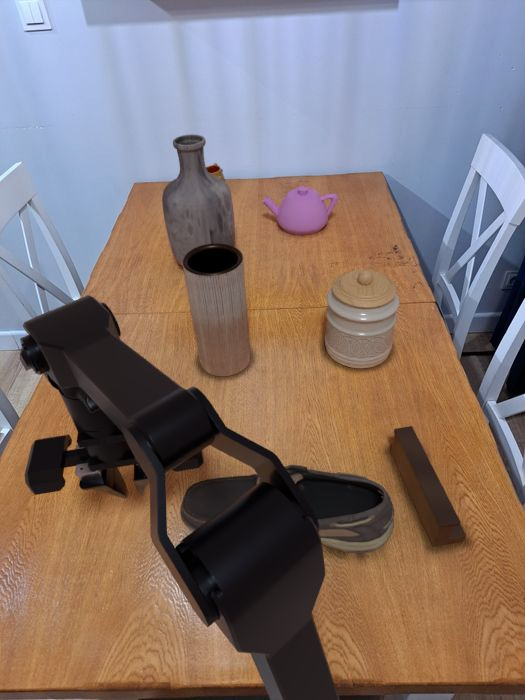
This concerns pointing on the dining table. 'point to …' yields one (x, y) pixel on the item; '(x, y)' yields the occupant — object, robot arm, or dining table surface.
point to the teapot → (302, 210)
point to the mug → (216, 171)
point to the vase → (196, 202)
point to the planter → (218, 307)
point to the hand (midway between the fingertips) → (134, 493)
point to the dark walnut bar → (426, 489)
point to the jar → (361, 318)
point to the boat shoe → (322, 495)
